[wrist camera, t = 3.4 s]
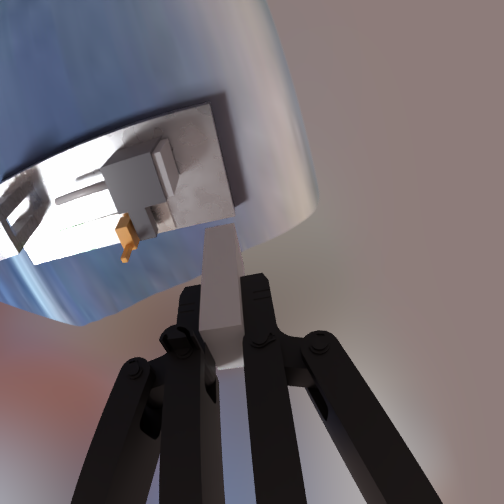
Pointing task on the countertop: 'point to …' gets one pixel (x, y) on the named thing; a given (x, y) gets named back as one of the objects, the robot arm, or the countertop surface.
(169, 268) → the countertop surface
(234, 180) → the countertop surface
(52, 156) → the gauge board
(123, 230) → the orange peg piece
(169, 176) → the grey block with rod
